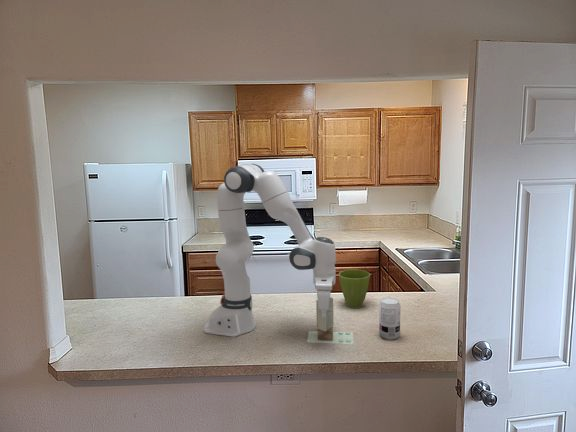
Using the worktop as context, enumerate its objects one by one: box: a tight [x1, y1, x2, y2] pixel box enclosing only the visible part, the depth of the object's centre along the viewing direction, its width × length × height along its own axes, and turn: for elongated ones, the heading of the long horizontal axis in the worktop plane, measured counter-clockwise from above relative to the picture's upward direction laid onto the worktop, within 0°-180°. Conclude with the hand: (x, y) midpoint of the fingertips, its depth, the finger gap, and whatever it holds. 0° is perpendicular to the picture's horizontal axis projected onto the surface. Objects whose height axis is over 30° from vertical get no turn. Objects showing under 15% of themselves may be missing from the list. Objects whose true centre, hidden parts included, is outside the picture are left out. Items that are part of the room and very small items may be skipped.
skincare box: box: [315, 296, 335, 331], centre depth 162 cm, size 6×4×12 cm
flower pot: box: [338, 269, 371, 309], centre depth 198 cm, size 15×15×16 cm
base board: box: [307, 330, 354, 345], centre depth 163 cm, size 18×10×2 cm, turn 83°
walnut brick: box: [317, 326, 334, 341], centre depth 163 cm, size 6×6×4 cm
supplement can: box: [378, 297, 401, 340], centre depth 165 cm, size 8×8×15 cm
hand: (324, 311), depth 162 cm, fingers open, 8 cm apart
